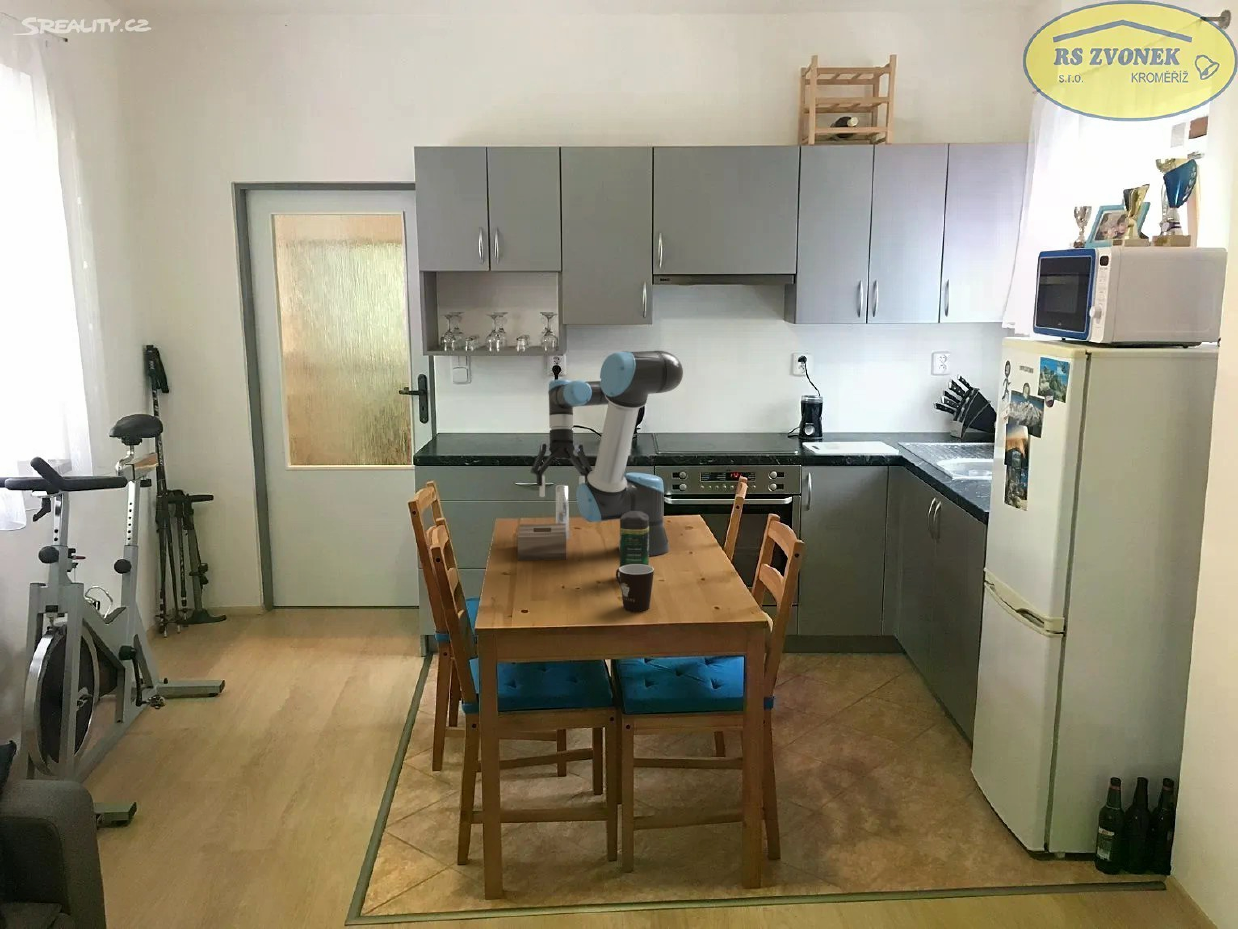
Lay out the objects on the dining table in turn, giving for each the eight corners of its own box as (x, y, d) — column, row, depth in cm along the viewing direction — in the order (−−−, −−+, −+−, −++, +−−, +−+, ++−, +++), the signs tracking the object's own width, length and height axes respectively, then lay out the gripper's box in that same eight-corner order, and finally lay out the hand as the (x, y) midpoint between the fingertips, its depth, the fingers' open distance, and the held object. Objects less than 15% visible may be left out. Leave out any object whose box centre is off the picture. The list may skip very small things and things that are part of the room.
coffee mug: (657, 612, 236) (657, 573, 234) (623, 615, 234) (623, 575, 232) (646, 598, 247) (646, 560, 245) (613, 600, 245) (613, 562, 243)
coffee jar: (647, 585, 258) (648, 517, 254) (618, 584, 258) (618, 516, 255) (650, 574, 267) (650, 508, 264) (621, 573, 268) (621, 508, 265)
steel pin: (571, 539, 305) (570, 486, 302) (560, 541, 303) (560, 487, 300) (564, 536, 308) (563, 484, 305) (553, 538, 306) (553, 485, 303)
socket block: (566, 559, 282) (566, 536, 281) (518, 560, 281) (517, 537, 280) (565, 545, 298) (565, 523, 297) (520, 546, 297) (519, 523, 296)
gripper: (592, 431, 314) (593, 497, 312) (519, 429, 302) (520, 497, 301) (602, 429, 307) (603, 496, 305) (528, 426, 296) (529, 496, 294)
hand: (562, 496), depth 303 cm, fingers open, 13 cm apart
